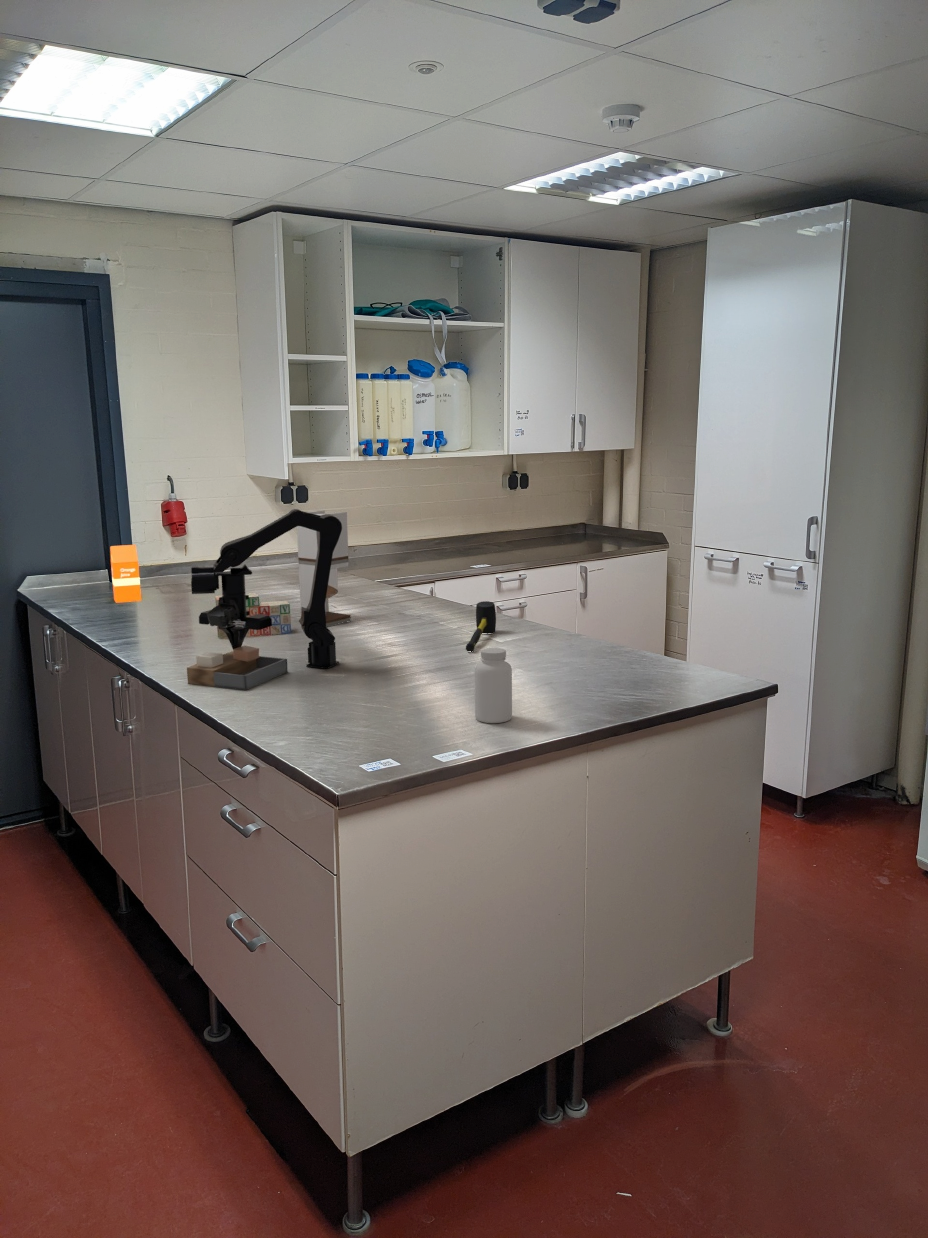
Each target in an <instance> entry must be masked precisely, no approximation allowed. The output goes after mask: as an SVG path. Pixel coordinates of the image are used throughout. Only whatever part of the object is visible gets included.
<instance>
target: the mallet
mask: <svg viewBox="0 0 928 1238" xmlns="http://www.w3.org/2000/svg"><path fill="white" fill-rule="evenodd" d="M495 606H496V605H495V603H494V602H493V601H488V600H487V601H486V600H485V601H478V602H477V603H476V606H475V620H476V621H475V624H476V630H475V631H474V632H473V633H472V636H471V638H470V640H469V642H468V643H467V644H466V646H465V650H466V652H467V651H471V652H472V651H473V652H474V651H475V647H476V646H477V644H478V643H479V640H480V639H481V636H482V635H483V634H482V633H493V634H494V633H496V629H497V628H496V627H497V626H496V625H497V614H496V613H497V612H496V611H497V610H496V607H495ZM473 652H472V653H473Z"/></svg>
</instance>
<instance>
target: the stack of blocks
mask: <svg viewBox="0 0 928 1238" xmlns="http://www.w3.org/2000/svg"><path fill="white" fill-rule="evenodd" d="M245 594H246V595H249V599H247V600H246V611H249V614H250V615H248V616H246V617H250V616H253V615H257V614H262V615H269V616H270V617H271V619H272V626H270V627H267V628H264V629H261V630H252V629H249V631H248V632H247V634H246V636H245V638H252V637H251V636H254V637H261V636H260V635H266V636H275V635H274V634H278V635H287V634H288V635H290V634H292V619H291V616H292V615H291V604H290V603H289V602H288V600H279V601H277V600H275V601H262V602H260V596H259V595H258V594H257V592H251V593H245ZM219 597H222V595H215V596H214V599H215V607H216V606H218V603H219ZM238 620H239V619H238ZM216 630H217V637H218V639H219V640H227V639H228V637H227V635H226V633H225V632H224V631H222V630H221V629H218V626H216ZM272 634H273V635H272ZM228 640H229V639H228Z"/></svg>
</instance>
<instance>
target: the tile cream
mask: <svg viewBox="0 0 928 1238" xmlns="http://www.w3.org/2000/svg"><path fill="white" fill-rule="evenodd" d="M195 658H196V661H195V662H196V664H197V666H202V667H211V668H212V667H215V666H217V665H220V664H223V653H222V652H213V651H212V652H210V651H206V652H204V653H200V654H199V655H196V657H195Z"/></svg>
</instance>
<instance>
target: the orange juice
mask: <svg viewBox="0 0 928 1238" xmlns="http://www.w3.org/2000/svg"><path fill="white" fill-rule="evenodd" d="M137 551H138V550H137V546H136V544H127V545H123V544H122V545H111V546H110V566H111V567H110V568H111V580H112V589H113V600H114V602H115V603H116V604H117V603H129V602H130V603H132V602H141V601H142V591H141V577H140V569H139V568H140V567H139V559H138V558H139V557H138V552H137Z"/></svg>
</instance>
